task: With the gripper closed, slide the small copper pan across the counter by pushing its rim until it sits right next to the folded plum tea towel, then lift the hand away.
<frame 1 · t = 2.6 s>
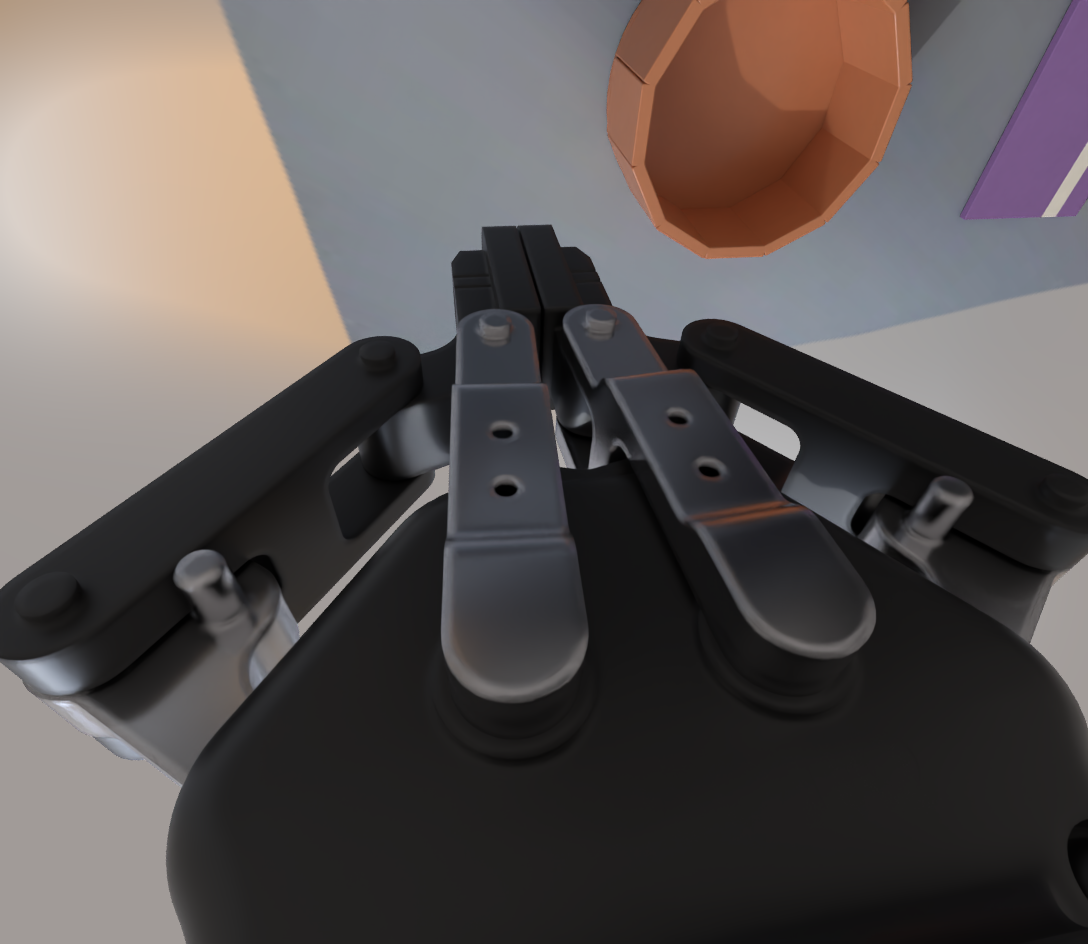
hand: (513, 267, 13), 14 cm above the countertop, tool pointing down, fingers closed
towel: (1087, 92, 27), on the countertop
pan: (725, 92, 25), on the countertop
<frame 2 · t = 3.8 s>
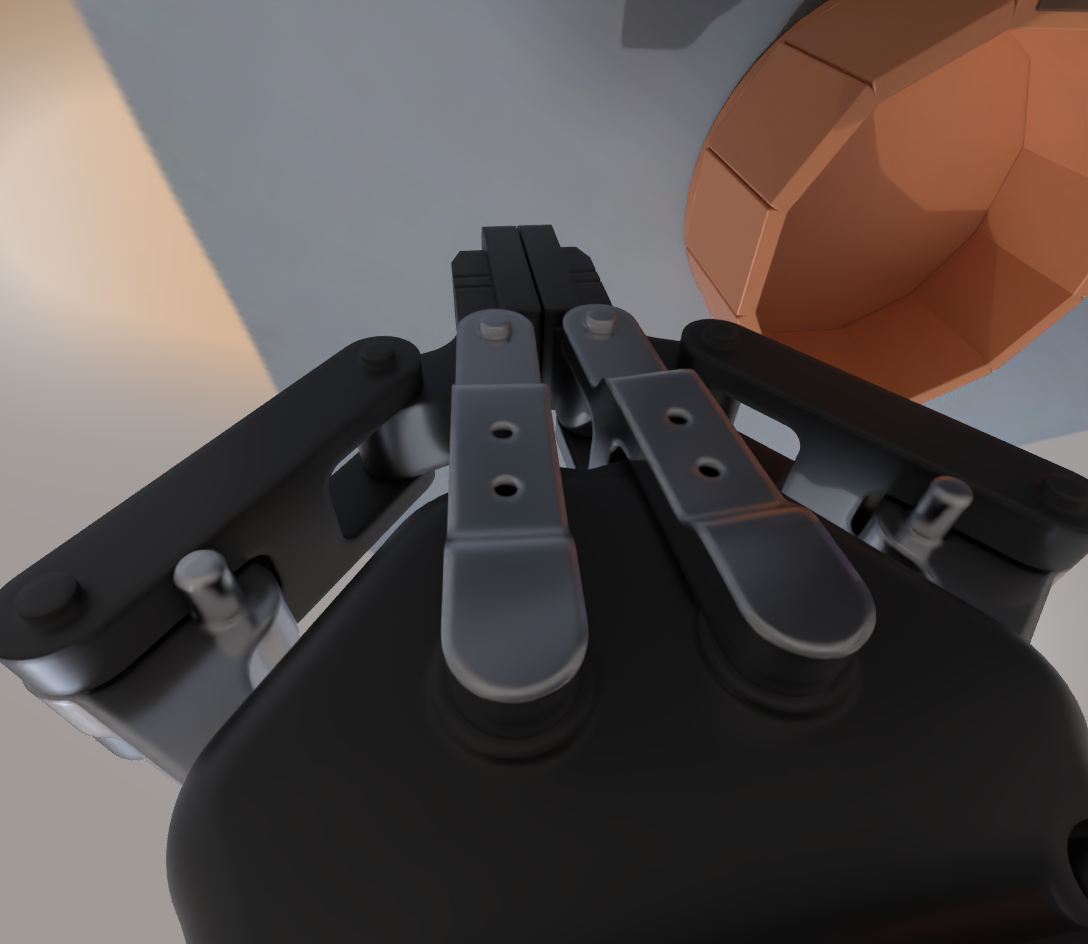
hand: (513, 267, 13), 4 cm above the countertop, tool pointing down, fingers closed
pan: (850, 187, 18), on the countertop
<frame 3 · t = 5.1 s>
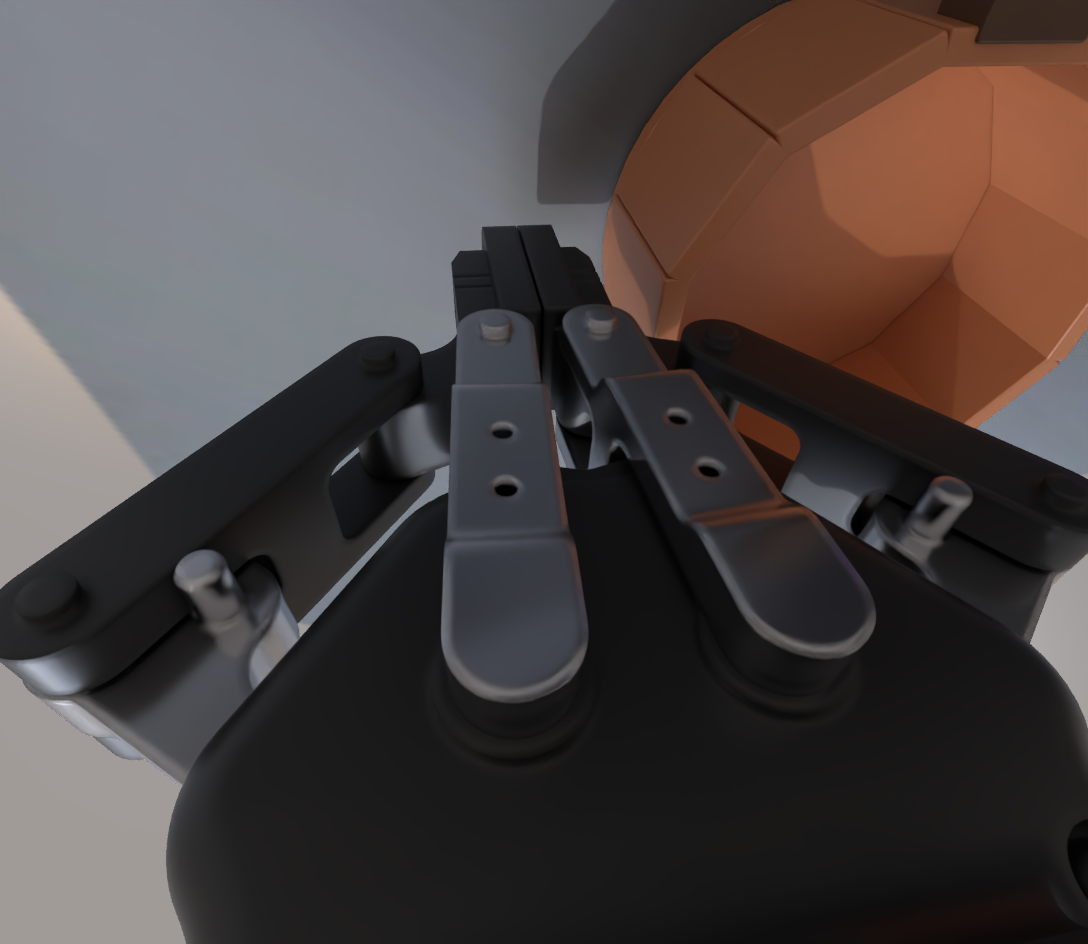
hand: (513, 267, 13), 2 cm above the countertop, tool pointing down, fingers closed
pan: (793, 230, 16), on the countertop, touching gripper
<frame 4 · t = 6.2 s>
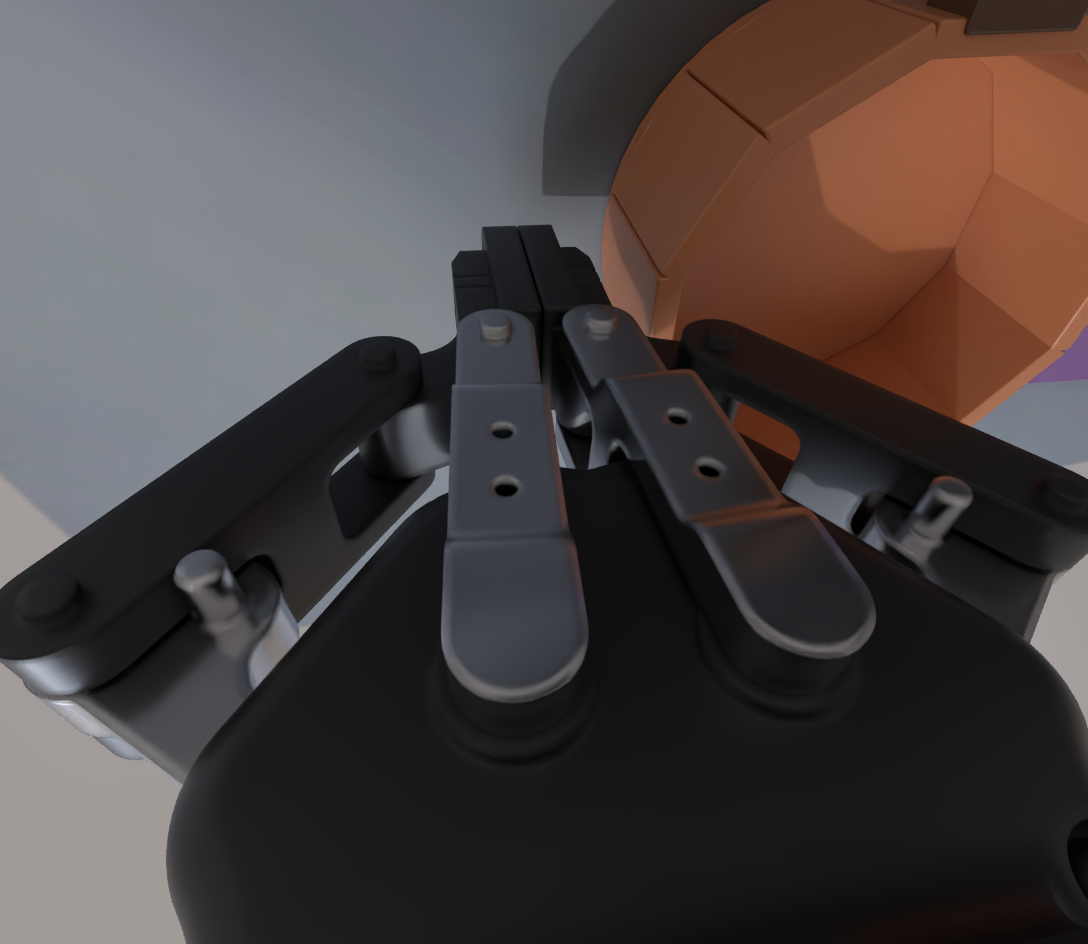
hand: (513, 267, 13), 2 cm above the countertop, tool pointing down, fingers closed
pan: (792, 224, 15), on the countertop, touching gripper
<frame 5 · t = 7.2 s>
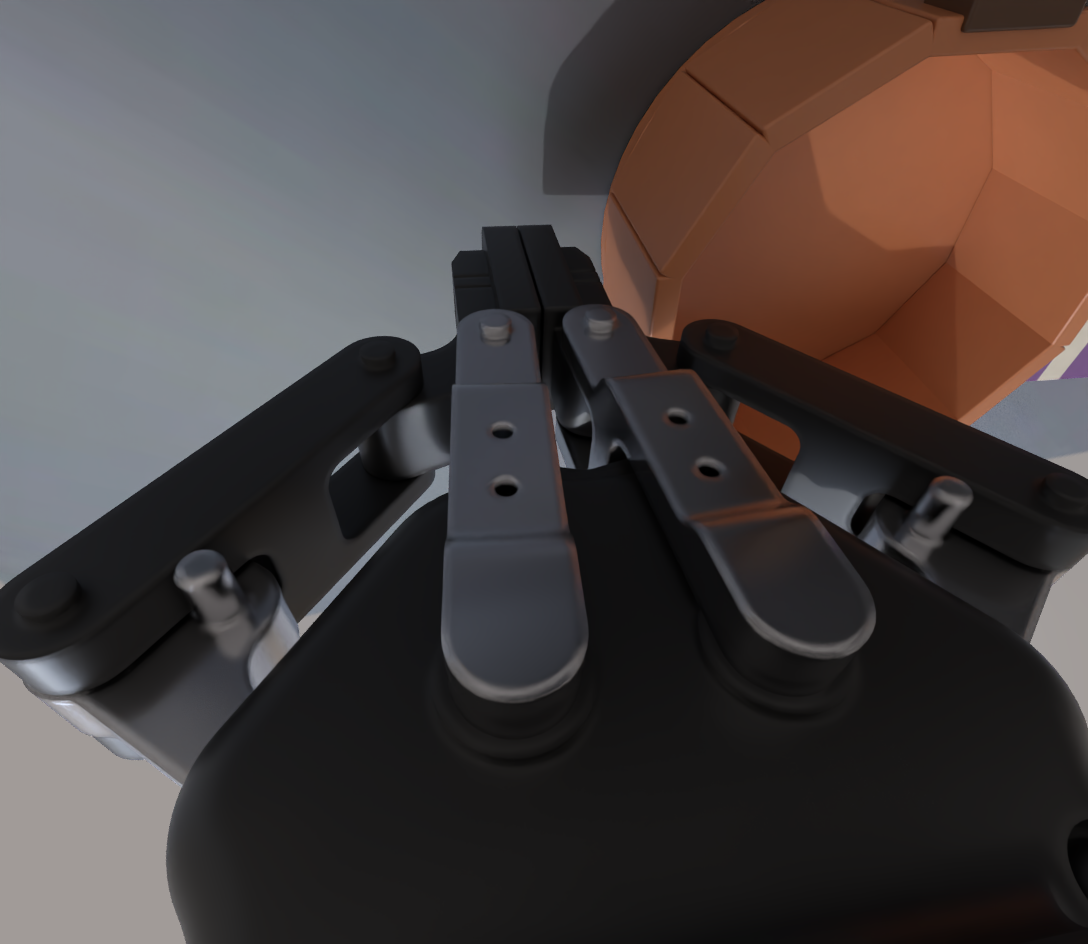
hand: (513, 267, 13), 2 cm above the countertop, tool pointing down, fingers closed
pan: (792, 222, 15), on the countertop, touching gripper
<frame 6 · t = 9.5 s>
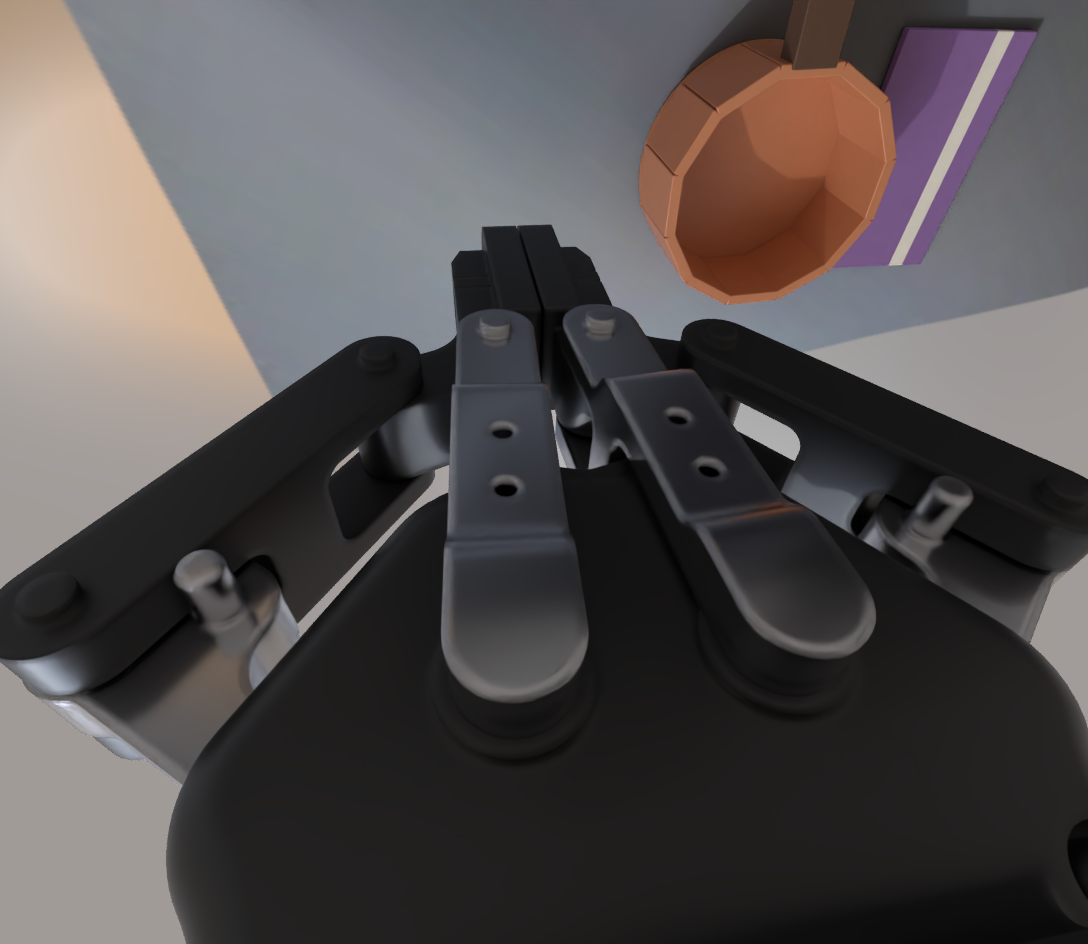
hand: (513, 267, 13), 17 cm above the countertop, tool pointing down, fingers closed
towel: (911, 160, 31), on the countertop
pan: (738, 162, 29), on the countertop
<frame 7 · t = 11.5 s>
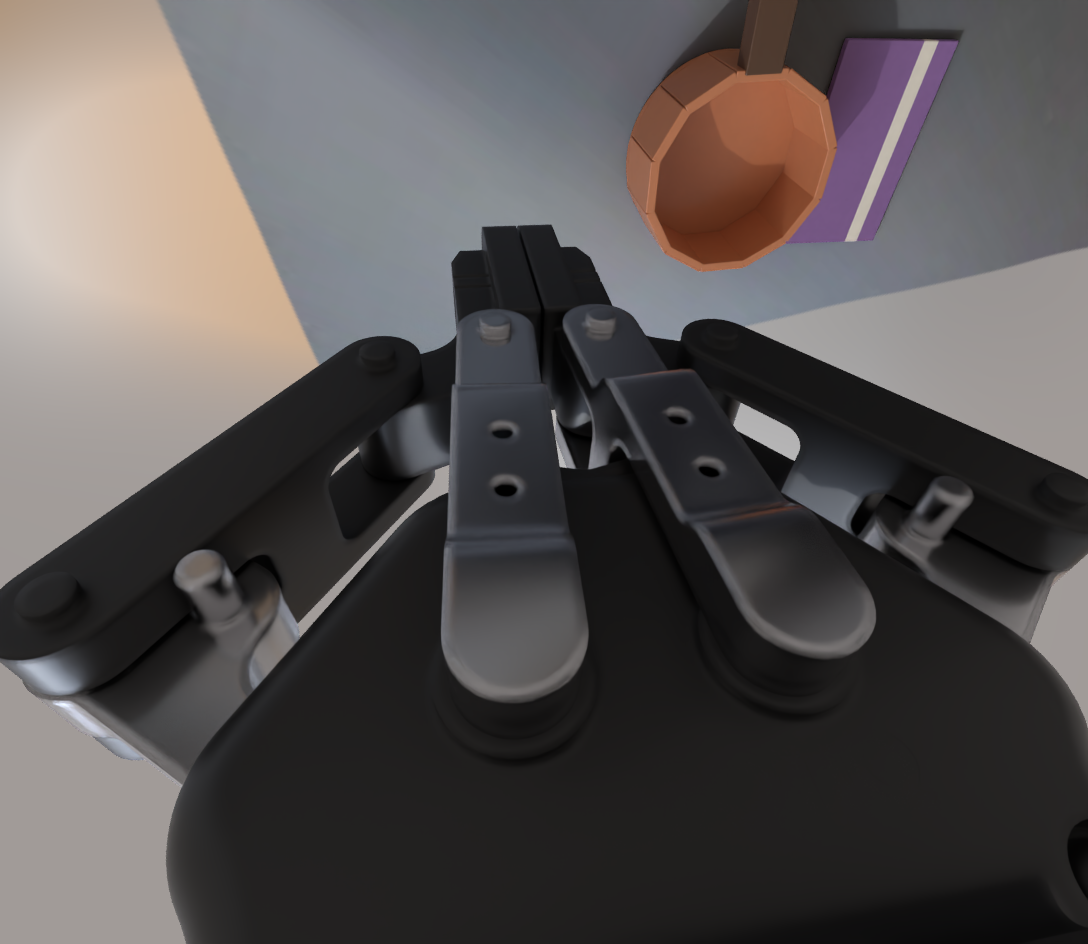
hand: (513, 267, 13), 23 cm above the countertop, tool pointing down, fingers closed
towel: (858, 149, 36), on the countertop
pan: (710, 152, 35), on the countertop
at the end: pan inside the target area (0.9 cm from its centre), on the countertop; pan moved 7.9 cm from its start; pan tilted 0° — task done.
